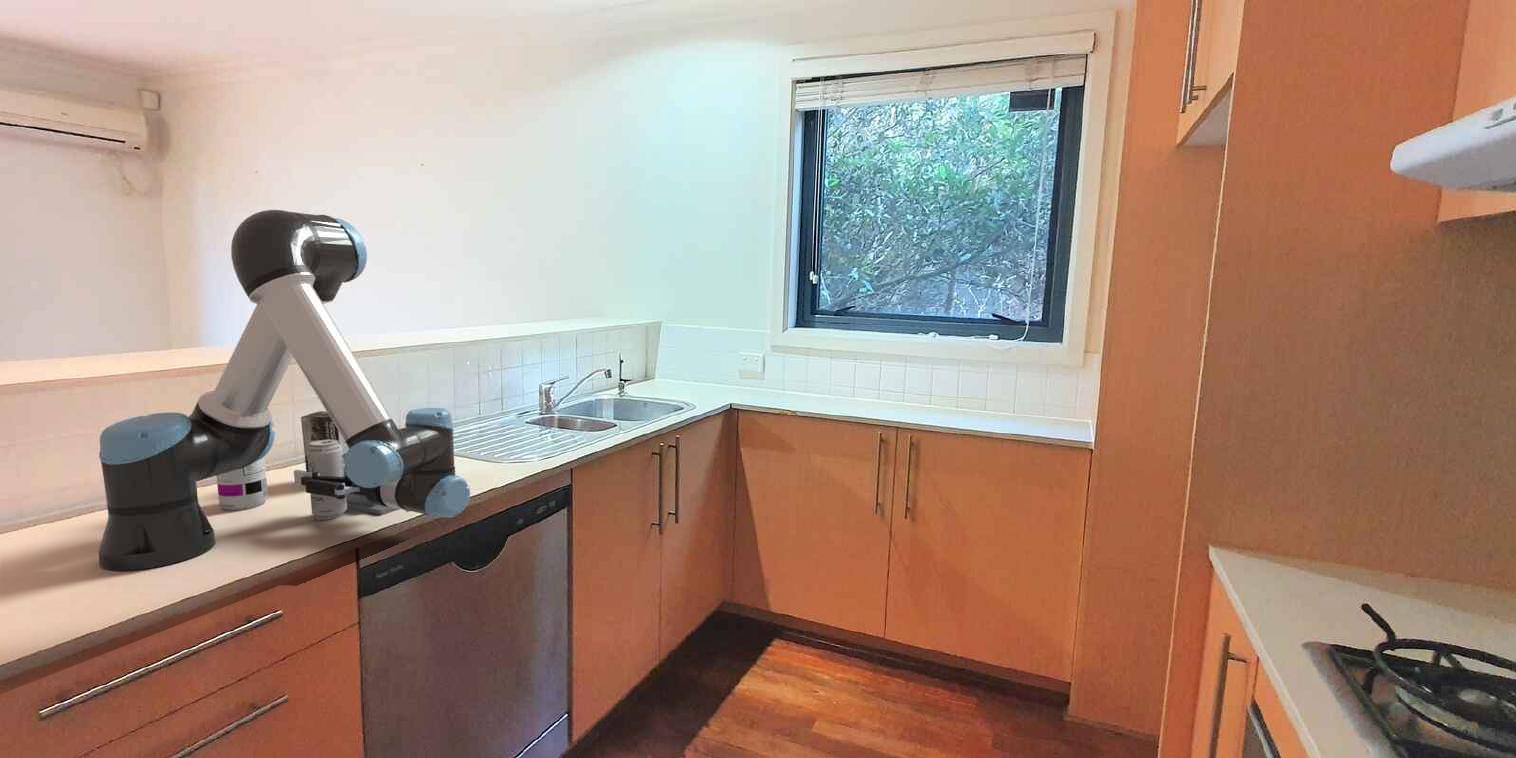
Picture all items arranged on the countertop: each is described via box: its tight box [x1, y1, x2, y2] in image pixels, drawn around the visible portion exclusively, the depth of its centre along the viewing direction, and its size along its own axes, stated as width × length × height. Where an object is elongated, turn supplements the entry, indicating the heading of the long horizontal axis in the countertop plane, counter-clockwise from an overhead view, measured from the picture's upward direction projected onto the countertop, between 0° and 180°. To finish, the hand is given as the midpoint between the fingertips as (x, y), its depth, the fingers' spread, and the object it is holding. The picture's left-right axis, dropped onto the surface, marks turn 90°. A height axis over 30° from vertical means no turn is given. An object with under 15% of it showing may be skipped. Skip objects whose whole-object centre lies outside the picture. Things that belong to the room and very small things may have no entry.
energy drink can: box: [307, 440, 348, 521], centre depth 139 cm, size 6×6×15 cm
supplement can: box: [216, 456, 269, 511], centre depth 144 cm, size 8×8×15 cm
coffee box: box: [300, 410, 349, 472], centre depth 161 cm, size 9×6×16 cm
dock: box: [346, 494, 399, 516], centre depth 151 cm, size 19×13×4 cm
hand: (312, 472), depth 140 cm, fingers closed on energy drink can, 6 cm apart
